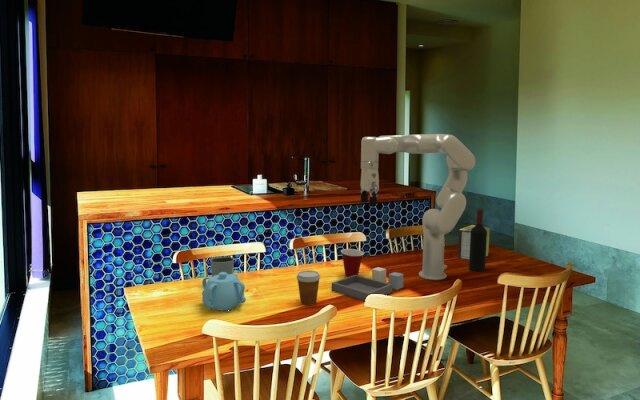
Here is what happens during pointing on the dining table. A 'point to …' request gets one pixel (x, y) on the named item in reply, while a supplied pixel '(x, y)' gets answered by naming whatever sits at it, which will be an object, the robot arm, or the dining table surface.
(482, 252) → the wine bottle
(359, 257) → the plastic cup
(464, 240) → the protein box
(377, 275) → the cream block
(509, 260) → the dining table surface
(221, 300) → the decorative pot
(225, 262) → the drinking glass
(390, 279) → the blue block
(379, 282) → the tray
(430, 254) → the robot arm
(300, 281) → the disposable coffee cup
